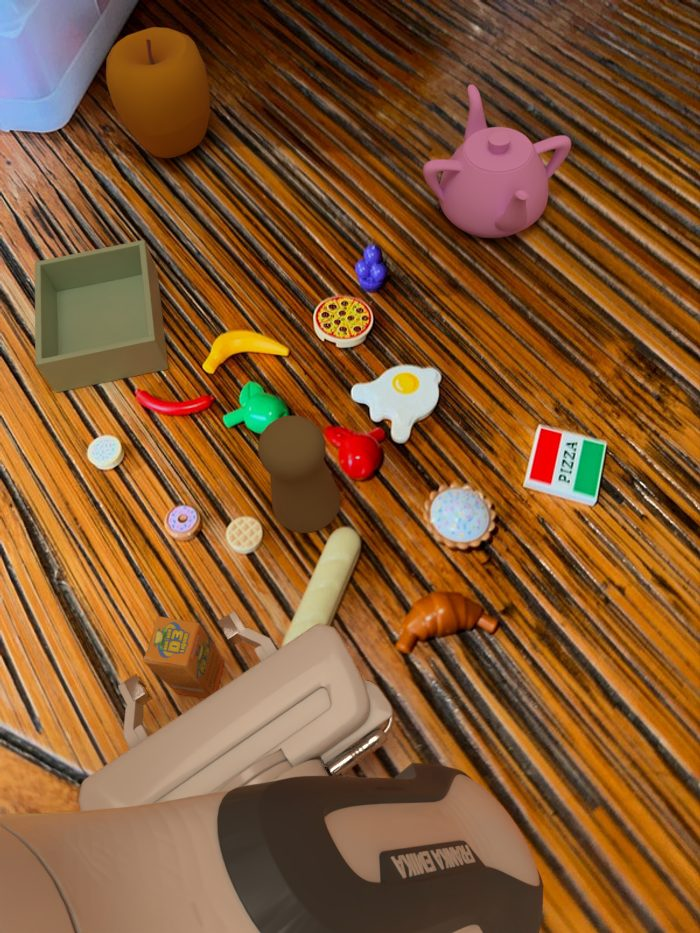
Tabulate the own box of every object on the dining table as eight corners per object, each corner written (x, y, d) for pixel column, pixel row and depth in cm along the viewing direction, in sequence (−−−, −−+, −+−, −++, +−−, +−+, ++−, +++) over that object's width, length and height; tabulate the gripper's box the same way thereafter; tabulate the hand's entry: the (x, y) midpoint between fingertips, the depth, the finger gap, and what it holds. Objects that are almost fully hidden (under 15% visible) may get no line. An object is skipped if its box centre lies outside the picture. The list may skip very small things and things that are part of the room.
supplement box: (218, 701, 59) (185, 669, 50) (176, 694, 59) (136, 661, 50) (229, 659, 60) (199, 621, 51) (188, 652, 61) (151, 613, 52)
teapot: (515, 266, 78) (526, 198, 70) (404, 213, 83) (403, 144, 75) (574, 197, 82) (591, 125, 74) (465, 150, 87) (470, 78, 79)
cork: (307, 546, 64) (289, 487, 55) (257, 504, 67) (232, 440, 57) (355, 498, 66) (345, 432, 57) (305, 458, 69) (288, 389, 59)
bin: (168, 369, 75) (155, 339, 70) (55, 393, 74) (35, 364, 70) (157, 271, 81) (144, 239, 77) (53, 292, 80) (34, 261, 76)
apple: (187, 188, 87) (154, 85, 76) (114, 161, 90) (71, 57, 79) (240, 130, 91) (216, 24, 80) (168, 106, 94) (136, 0, 83)
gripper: (407, 718, 49) (294, 555, 55) (122, 925, 44) (33, 722, 50) (407, 735, 54) (304, 585, 60) (154, 920, 50) (70, 738, 56)
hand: (179, 648), depth 55 cm, fingers open, 7 cm apart
